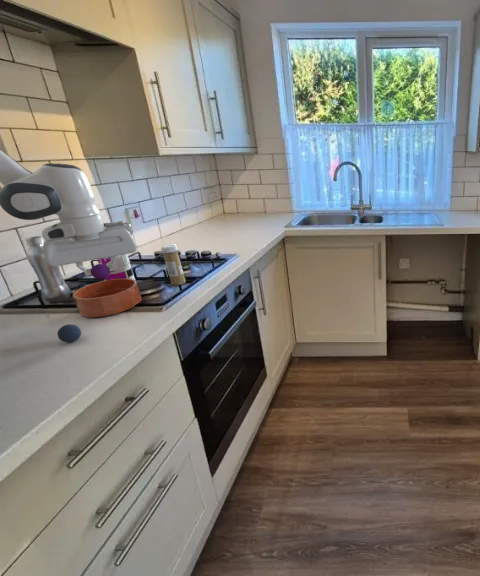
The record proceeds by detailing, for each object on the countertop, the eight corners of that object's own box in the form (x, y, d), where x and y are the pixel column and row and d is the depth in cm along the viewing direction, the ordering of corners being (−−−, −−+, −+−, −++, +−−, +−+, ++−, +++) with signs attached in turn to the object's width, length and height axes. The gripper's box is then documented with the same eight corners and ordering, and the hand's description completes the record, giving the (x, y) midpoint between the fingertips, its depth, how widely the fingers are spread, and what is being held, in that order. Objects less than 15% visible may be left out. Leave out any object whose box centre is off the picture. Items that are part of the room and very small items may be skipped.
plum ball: (90, 280, 103) (84, 266, 101) (105, 275, 107) (100, 261, 105) (100, 282, 101) (95, 267, 100) (116, 276, 105) (111, 262, 103)
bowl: (67, 314, 103) (60, 295, 101) (119, 293, 116) (113, 276, 114) (104, 322, 98) (96, 302, 96) (153, 299, 112) (148, 281, 109)
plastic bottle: (55, 296, 115) (29, 235, 107) (78, 295, 116) (54, 234, 108) (40, 305, 109) (11, 241, 101) (64, 303, 110) (37, 240, 102)
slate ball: (57, 344, 88) (50, 328, 87) (76, 335, 92) (70, 320, 90) (68, 347, 87) (61, 331, 85) (87, 338, 91) (81, 322, 89)
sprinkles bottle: (189, 282, 124) (179, 244, 119) (177, 286, 121) (166, 248, 115) (179, 280, 126) (170, 242, 121) (167, 284, 122) (157, 246, 117)
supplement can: (118, 290, 118) (103, 246, 112) (101, 287, 121) (85, 244, 115) (141, 281, 125) (128, 240, 119) (124, 279, 128) (111, 238, 122)
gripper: (128, 218, 106) (142, 262, 111) (36, 230, 95) (56, 279, 100) (130, 221, 101) (144, 268, 107) (33, 235, 90) (55, 286, 95)
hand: (101, 273), depth 103 cm, fingers closed on plum ball, 4 cm apart
